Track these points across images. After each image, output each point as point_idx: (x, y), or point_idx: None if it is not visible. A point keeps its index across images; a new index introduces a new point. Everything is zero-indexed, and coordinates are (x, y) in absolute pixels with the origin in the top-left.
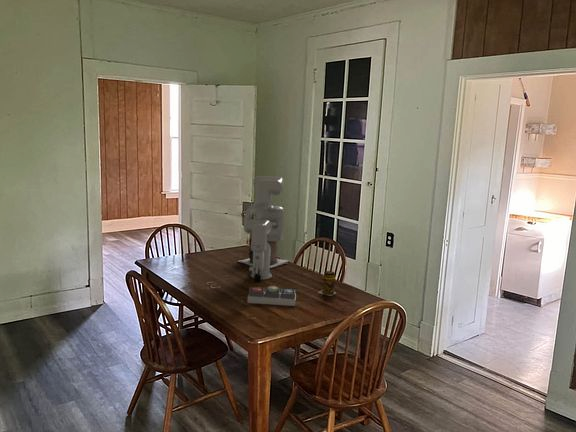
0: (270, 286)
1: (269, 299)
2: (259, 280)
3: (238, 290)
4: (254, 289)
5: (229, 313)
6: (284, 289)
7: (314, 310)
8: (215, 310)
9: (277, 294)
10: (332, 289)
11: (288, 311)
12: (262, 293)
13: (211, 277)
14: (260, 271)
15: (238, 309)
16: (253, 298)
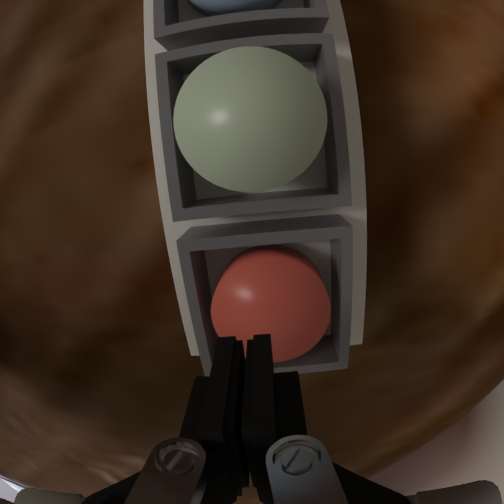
0: (198, 158)
1: (360, 142)
2: (272, 362)
3: (131, 397)
4: (285, 336)
5: (496, 354)
6: (164, 8)
7: None
8: (455, 414)
9: (332, 55)
10: None
11: (435, 9)
12: (349, 230)
13: (63, 466)
14: (187, 491)
15: (458, 335)
16: (362, 294)
